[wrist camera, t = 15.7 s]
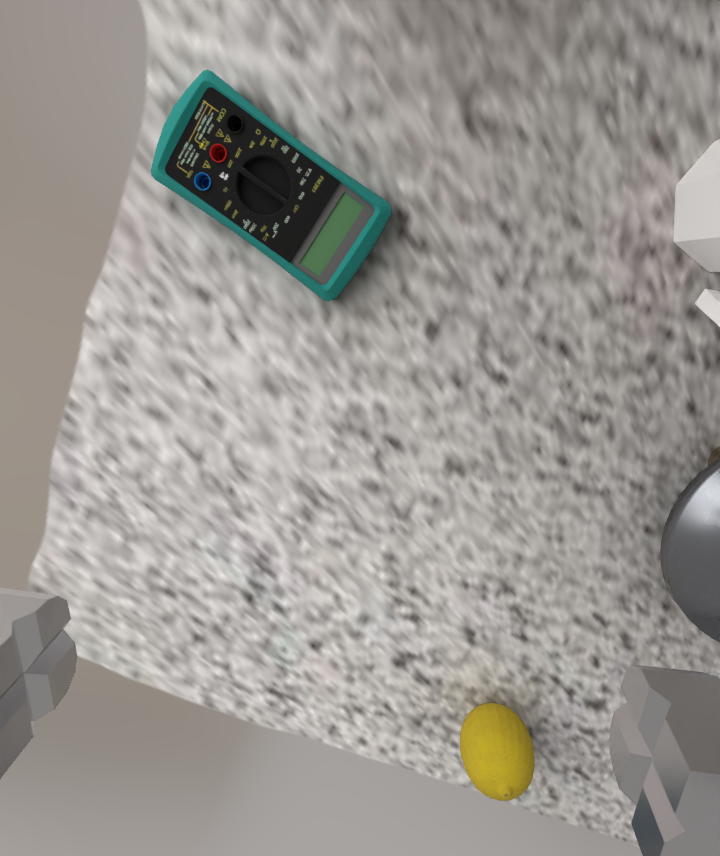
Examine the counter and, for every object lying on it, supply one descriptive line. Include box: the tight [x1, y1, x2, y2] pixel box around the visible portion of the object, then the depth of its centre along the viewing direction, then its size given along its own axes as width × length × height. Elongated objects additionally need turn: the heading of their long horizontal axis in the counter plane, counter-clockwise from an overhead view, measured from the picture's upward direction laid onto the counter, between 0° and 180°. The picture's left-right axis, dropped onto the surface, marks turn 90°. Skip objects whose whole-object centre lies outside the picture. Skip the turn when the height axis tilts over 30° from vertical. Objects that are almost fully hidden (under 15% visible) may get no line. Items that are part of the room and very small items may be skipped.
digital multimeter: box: [151, 70, 392, 301], centre depth 36 cm, size 7×15×3 cm, turn 55°
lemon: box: [460, 703, 534, 801], centre depth 43 cm, size 6×6×8 cm
